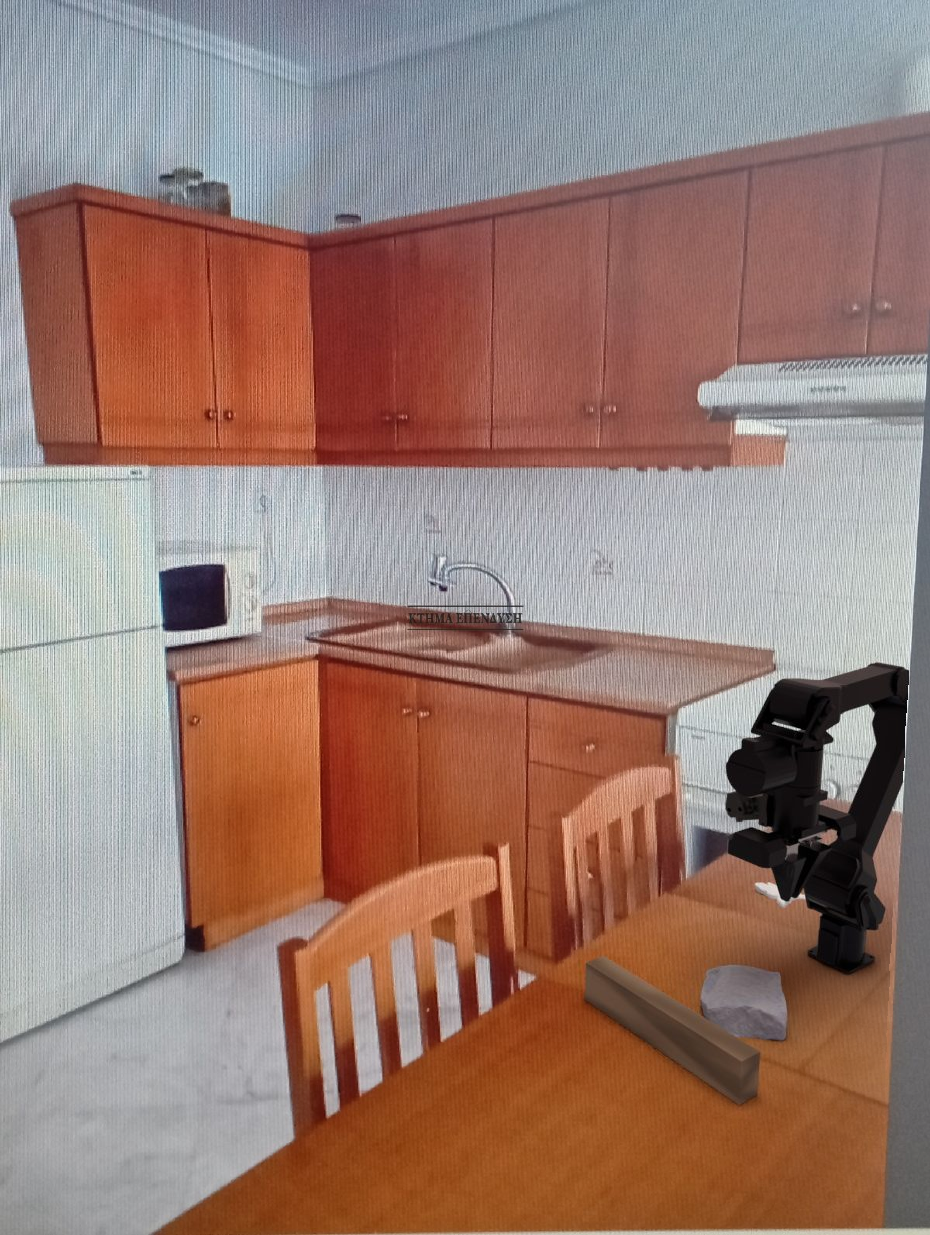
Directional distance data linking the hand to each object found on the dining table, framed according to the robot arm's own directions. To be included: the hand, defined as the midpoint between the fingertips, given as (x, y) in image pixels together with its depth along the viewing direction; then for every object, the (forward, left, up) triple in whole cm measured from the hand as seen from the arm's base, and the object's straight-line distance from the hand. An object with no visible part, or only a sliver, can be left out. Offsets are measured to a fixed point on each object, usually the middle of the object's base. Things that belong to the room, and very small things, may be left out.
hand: (788, 898), depth 120 cm
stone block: (+9, 0, -12) cm, 15 cm away
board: (+22, 0, -12) cm, 25 cm away
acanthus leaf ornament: (-23, -17, -13) cm, 31 cm away
